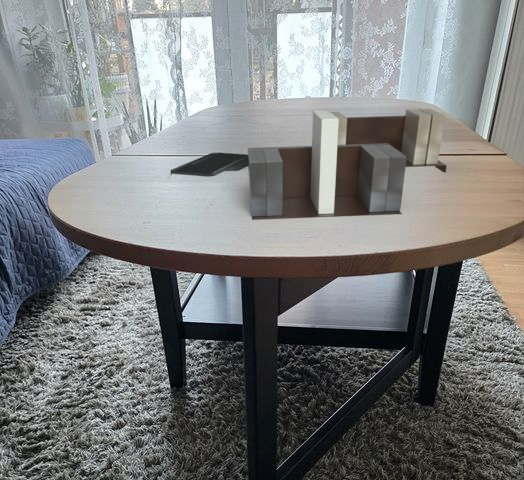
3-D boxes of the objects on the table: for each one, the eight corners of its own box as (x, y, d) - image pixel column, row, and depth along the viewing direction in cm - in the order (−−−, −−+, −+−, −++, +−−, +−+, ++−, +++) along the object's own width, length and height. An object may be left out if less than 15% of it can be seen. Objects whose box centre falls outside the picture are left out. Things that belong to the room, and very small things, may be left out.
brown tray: (426, 159, 85) (434, 107, 81) (445, 172, 78) (455, 115, 74) (320, 163, 85) (322, 111, 81) (329, 176, 77) (332, 119, 73)
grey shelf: (382, 200, 66) (388, 143, 62) (401, 222, 58) (409, 158, 54) (249, 205, 65) (247, 148, 61) (251, 228, 57) (249, 164, 54)
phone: (253, 154, 86) (212, 174, 74) (253, 161, 87) (213, 182, 75) (212, 152, 89) (166, 170, 77) (213, 159, 89) (167, 178, 78)
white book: (324, 197, 64) (328, 110, 59) (333, 213, 58) (338, 118, 53) (310, 197, 64) (312, 110, 59) (318, 214, 58) (321, 119, 53)
